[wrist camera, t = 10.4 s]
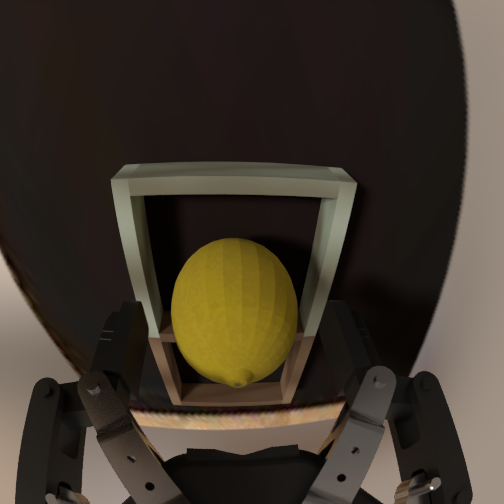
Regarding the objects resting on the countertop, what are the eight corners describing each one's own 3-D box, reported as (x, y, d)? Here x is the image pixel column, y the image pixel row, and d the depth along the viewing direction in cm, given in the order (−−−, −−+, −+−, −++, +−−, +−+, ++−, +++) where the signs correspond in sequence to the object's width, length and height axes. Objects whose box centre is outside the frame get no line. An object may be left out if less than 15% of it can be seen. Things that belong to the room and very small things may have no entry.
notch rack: (125, 164, 12) (110, 179, 11) (341, 168, 13) (357, 183, 12) (174, 386, 24) (173, 404, 22) (287, 384, 25) (290, 402, 23)
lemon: (302, 246, 16) (345, 369, 9) (240, 304, 18) (248, 422, 12) (222, 188, 14) (218, 312, 7) (164, 262, 16) (136, 387, 9)
